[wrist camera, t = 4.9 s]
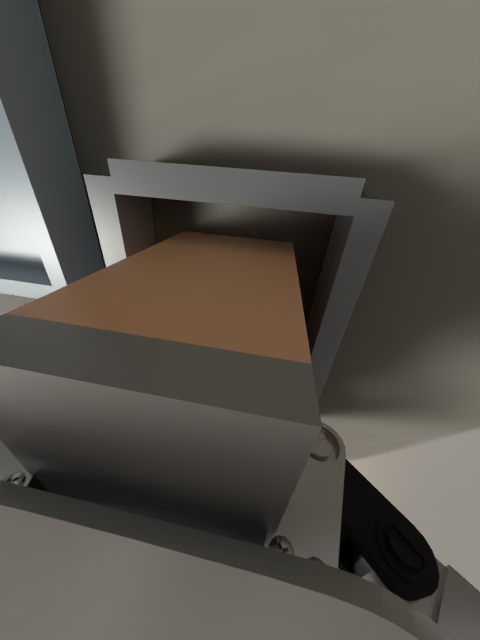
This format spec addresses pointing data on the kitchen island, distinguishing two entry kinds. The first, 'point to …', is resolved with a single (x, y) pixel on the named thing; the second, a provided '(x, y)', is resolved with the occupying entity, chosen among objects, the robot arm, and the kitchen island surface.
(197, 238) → the block
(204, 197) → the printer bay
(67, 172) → the tray
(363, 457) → the kitchen island surface
